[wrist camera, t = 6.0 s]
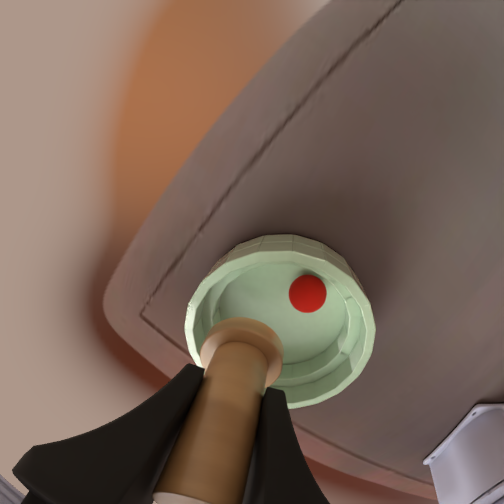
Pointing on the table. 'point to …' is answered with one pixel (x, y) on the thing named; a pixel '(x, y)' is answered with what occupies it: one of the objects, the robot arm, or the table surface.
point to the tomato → (307, 293)
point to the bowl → (290, 312)
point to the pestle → (222, 416)
